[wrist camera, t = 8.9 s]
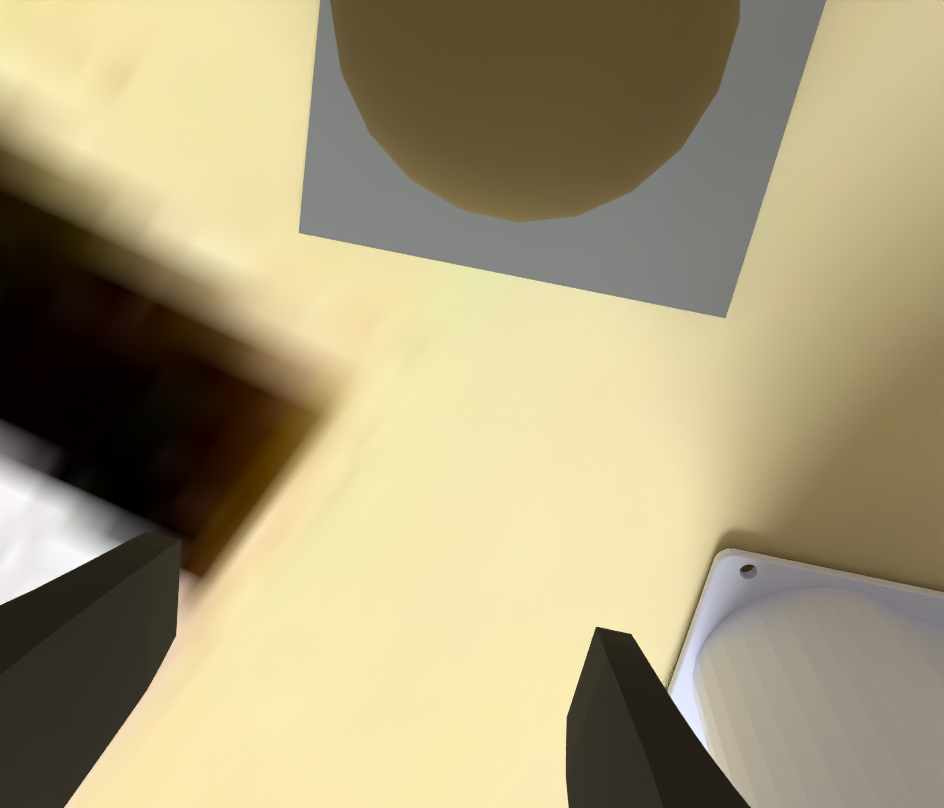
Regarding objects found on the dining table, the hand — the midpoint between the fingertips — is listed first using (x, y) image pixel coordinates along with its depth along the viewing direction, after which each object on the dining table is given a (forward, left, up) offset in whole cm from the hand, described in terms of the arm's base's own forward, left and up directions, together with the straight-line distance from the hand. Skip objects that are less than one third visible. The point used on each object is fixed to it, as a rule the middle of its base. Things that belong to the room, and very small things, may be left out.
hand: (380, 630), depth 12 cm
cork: (-1, -10, -10) cm, 14 cm away
